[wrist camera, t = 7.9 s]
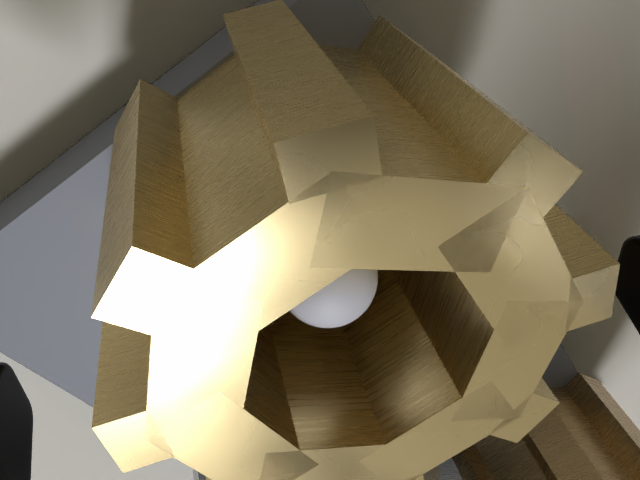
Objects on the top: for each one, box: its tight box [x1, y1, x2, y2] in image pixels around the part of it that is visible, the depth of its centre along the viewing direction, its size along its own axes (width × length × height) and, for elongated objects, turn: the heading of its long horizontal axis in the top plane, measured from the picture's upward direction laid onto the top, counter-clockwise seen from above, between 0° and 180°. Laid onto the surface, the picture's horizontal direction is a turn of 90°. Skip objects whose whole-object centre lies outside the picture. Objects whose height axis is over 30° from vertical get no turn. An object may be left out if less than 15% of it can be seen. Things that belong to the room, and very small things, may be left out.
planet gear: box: [91, 0, 620, 480], centre depth 10 cm, size 7×7×5 cm
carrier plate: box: [0, 0, 578, 407], centre depth 15 cm, size 18×10×5 cm, turn 33°
